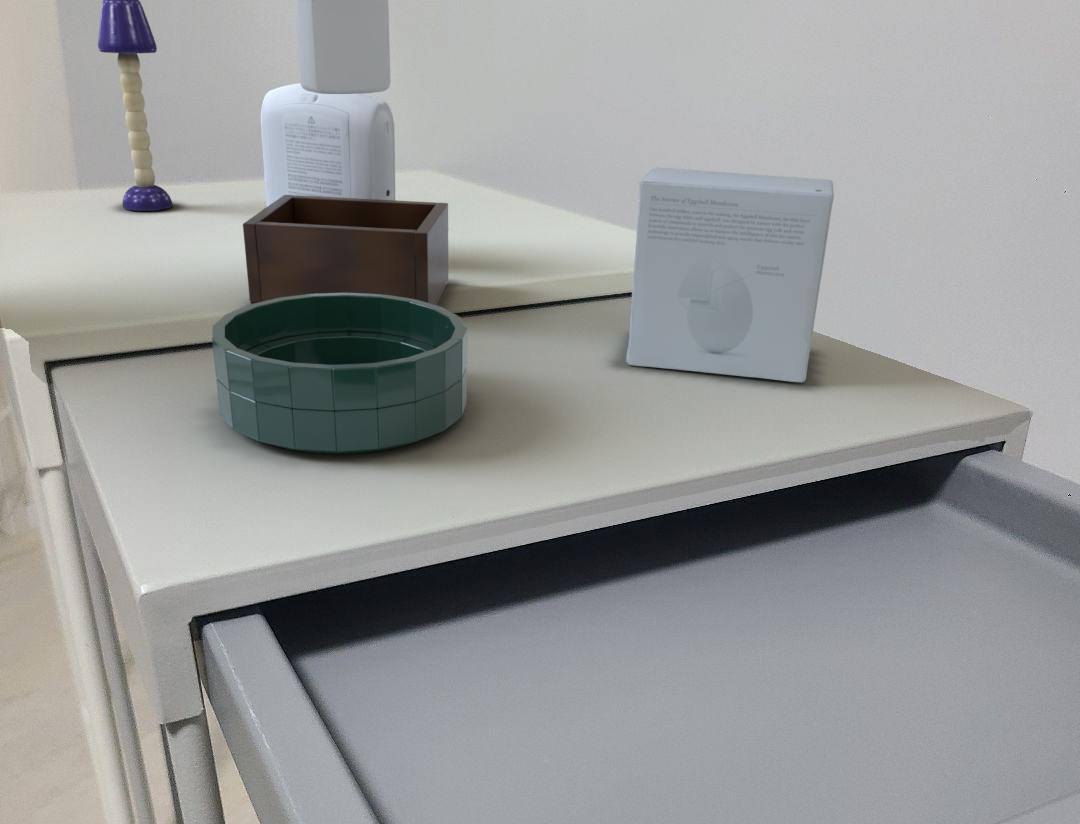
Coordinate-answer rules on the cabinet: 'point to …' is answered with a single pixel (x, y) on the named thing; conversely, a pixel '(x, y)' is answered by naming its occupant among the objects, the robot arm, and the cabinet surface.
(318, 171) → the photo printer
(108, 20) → the toy lamp
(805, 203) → the cosmetics box
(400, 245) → the holder
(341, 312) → the bowl
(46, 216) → the cabinet surface
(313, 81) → the eye dropper bottle
